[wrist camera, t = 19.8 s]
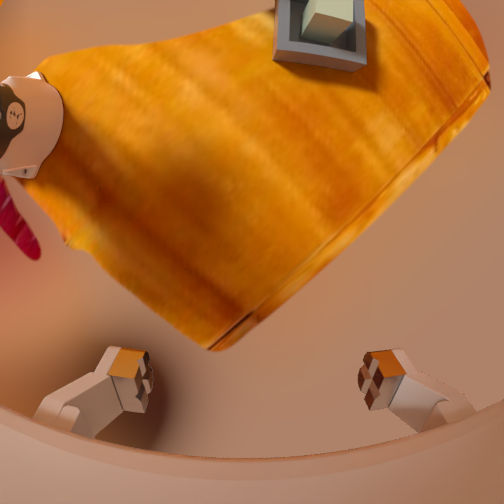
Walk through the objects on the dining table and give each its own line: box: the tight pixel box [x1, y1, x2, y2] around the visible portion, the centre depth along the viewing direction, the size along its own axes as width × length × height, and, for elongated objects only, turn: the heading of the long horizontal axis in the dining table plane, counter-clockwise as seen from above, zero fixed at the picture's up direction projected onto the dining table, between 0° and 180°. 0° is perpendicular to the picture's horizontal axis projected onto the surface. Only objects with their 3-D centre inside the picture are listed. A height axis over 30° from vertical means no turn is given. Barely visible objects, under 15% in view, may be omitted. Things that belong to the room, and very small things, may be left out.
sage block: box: [300, 0, 353, 44], centre depth 27 cm, size 4×4×9 cm
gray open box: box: [273, 0, 367, 72], centre depth 30 cm, size 12×12×5 cm
